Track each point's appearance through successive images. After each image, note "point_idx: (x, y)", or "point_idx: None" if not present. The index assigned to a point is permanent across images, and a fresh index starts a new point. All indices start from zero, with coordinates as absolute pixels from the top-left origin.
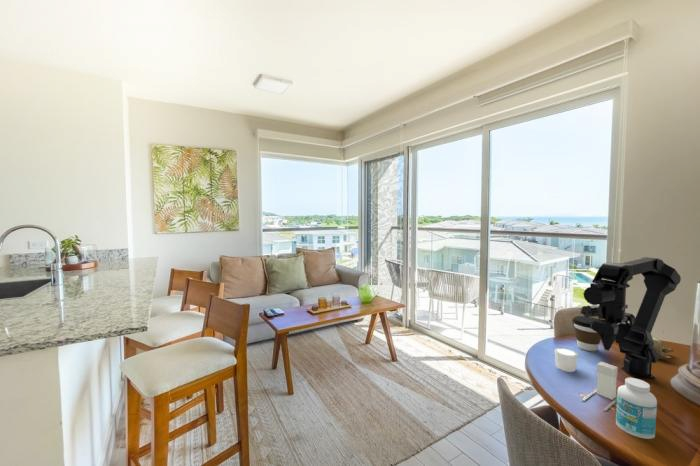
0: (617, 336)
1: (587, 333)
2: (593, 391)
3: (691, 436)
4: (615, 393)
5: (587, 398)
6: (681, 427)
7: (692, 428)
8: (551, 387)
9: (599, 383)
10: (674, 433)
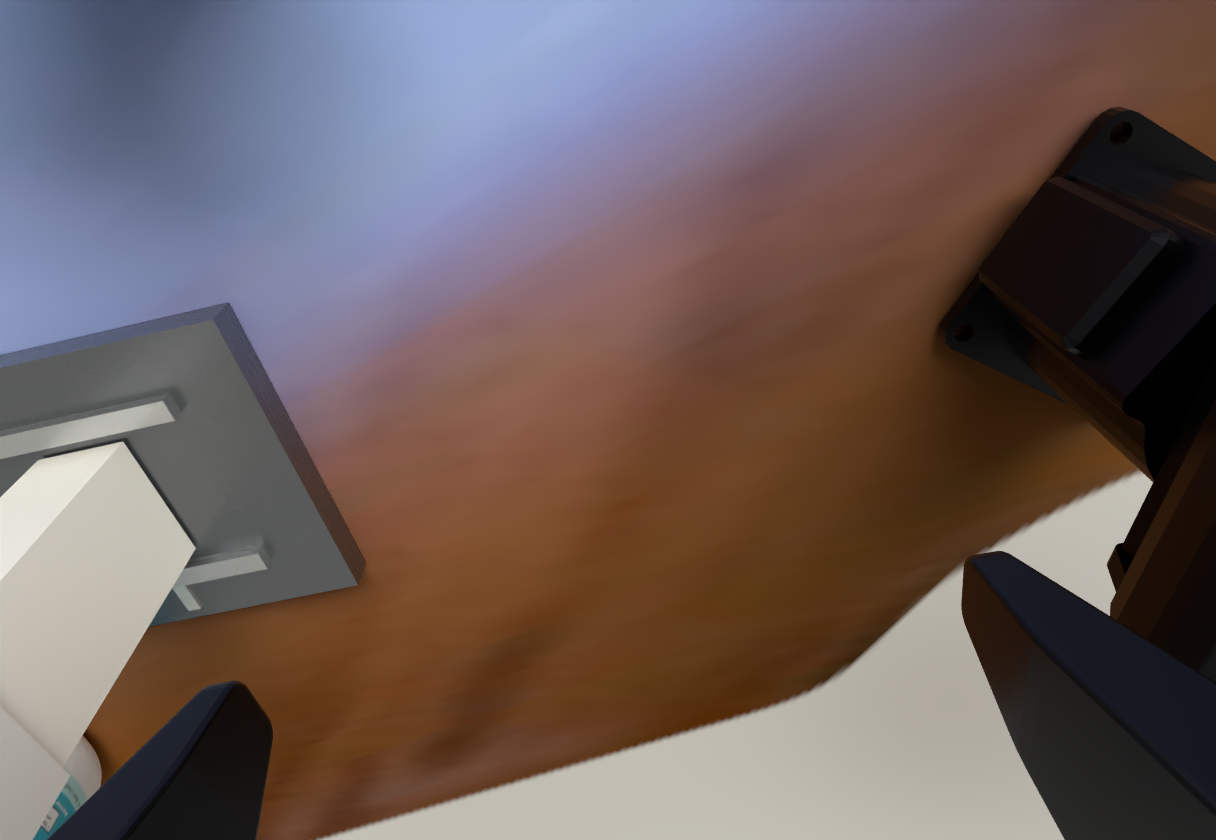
0: (1088, 761)
1: None
2: (7, 441)
3: (351, 822)
4: (170, 581)
5: None
6: (390, 780)
7: (449, 796)
8: None
9: None
10: (276, 795)
